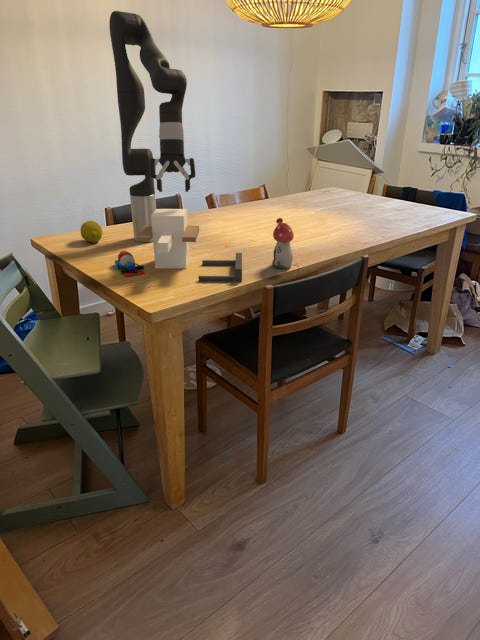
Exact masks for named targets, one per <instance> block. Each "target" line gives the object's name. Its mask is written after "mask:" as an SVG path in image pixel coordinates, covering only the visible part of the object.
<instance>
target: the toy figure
mask: <svg viewBox="0 0 480 640" xmlns="http://www.w3.org/2000/svg"><path fill="white" fill-rule="evenodd" d="M114 267H115V269H116V270H117V269H118V268H119V269H118V270H120V272H121V274H123V275H124V276H125V277H126V278H128V276H129V277H133V276H144V275H146V273H145V271H144V268H145V266H144V265H143V264H138V263H136V260H135V258H134V255H133V254H132V253H131V252H130V251H127V250H122V251H120V252H119V253H118V255H117V259H116V260H114ZM121 268H122V269H121ZM141 270H142V271H141ZM137 271H139V272H137ZM143 274H144V275H143Z"/></svg>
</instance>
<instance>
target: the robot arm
mask: <svg viewBox="0 0 480 640" xmlns="http://www.w3.org/2000/svg"><path fill="white" fill-rule="evenodd" d="M108 23H109V26H108V27H109V36H110V41H111V42H110V43H111V47H112V55H113V62H114V66H115V67H114V68H115V69H114V70H115V78H116V94H117V96H116V97H117V105H118V112H119V113H118V114H119V122H120V135H121V138H120V139H121V160H122V161H121V162H122V169H123V172H124V174H125V176H144V179H143V180H142V181H140V182H138V183H135V184H132V185H130V186H129V197H130V198H129V200H130V210H131V217H132V218H131V219H132V227H133V239H134V240H133V241H135V242H136V236H137V235H138V233H139V232H140V231H141V229H142V228H143V227H144V226H152V222H151V215H152V214H153V213H154V211H155V210H156V209H157V203H156V190H157V191H158V192H159V193H163V180H162V178H163V177H164V175H165V174H166V173H179V172H180V173H181V175H182V176H183V177H184V179H185V180H184V185H185V186H184V187H185V189H184V190H185V193H189V191H190V190H191V180H192V179H194V178H196V177H197V175H196V167H195V166H196V165H195V159H194V158H193V157H191V158H185V142H184V141H185V139H184V128H183V107H184V100H185V95H186V91H187V85H188V80H187V77H186V74H185V72H183V71H182V69H176V68H171V66H170V63H169V61H168V59H167V57H166V56H165V55H164V54H163V53H162V51H161V50H160V49H159V47H158V46H157V45H156V42H155V40H154V38H153V36H152V33H151V31H150V30H149V28H148V25H147V23H146V21H145V19H144V18H143V17H142V16H141V15H140V14H137V13H133V12H127V11H120V10H113V11H112V12H111V13H110V16H109V22H108ZM127 45H128V46H139V47H140V49H139V59H140V62H141V64H142V66H143V67H144V69H145V70H146V72H147V73H148V75H149V78H150V81H151V85H152V88H153V90H155V91H156V92H158V93H160V94H168V95H171V98H170V101H164V102H161V103H160V104H159V106H158V107H159V108H158V109H159V111H158V113H159V115H158V116H159V131H158V133H159V134H158V138H159V152H160V156H159V158H155V157H154V156H153V151H152V150H151V149H150V148H132V140H133V137H134V134H135V131H136V129H137V127H138V125H139V123H140V122H141V120H142V118H143V115H144V113H145V111H146V98H145V96H146V95H145V88H144V85H143V83H142V81H141V79H140V78H139V75H138V74H137V72H136V71H135V69H134V68H133V66H132V64H131V61H130V60H129V57H128V53H127V47H126V46H127ZM158 164H160V166H161V169H160V170H159V172H158V173H157V174H156V170H157V169H156V168H157V167H156V166H158ZM186 164H187V165H188V166H189V168H190V174H188V172H187V170H186V169H185V168H184V166H185V165H186ZM155 181H156V187H155ZM155 189H156V190H155ZM151 242H152V243H153V237H152V239H151V240H150V242H149V243H151Z"/></svg>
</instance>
